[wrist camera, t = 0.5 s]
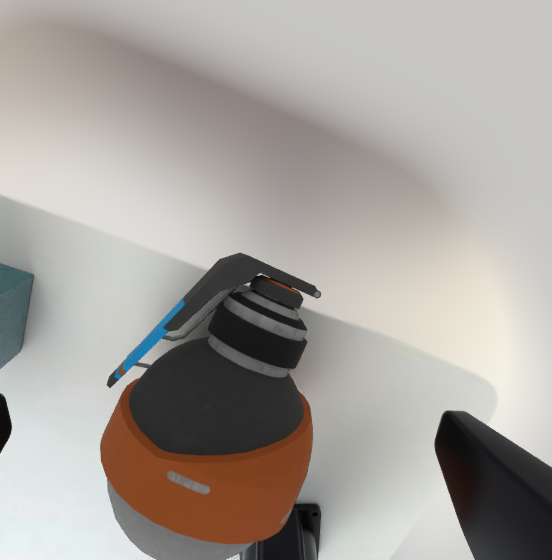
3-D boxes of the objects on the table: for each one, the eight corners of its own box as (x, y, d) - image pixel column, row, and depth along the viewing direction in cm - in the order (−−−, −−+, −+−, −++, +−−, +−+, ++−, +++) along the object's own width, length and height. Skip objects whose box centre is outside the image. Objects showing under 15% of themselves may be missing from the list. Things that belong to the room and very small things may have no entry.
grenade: (235, 482, 25) (321, 290, 25) (282, 643, 16) (422, 333, 15) (73, 449, 22) (173, 223, 21) (2, 633, 12) (185, 223, 12)
